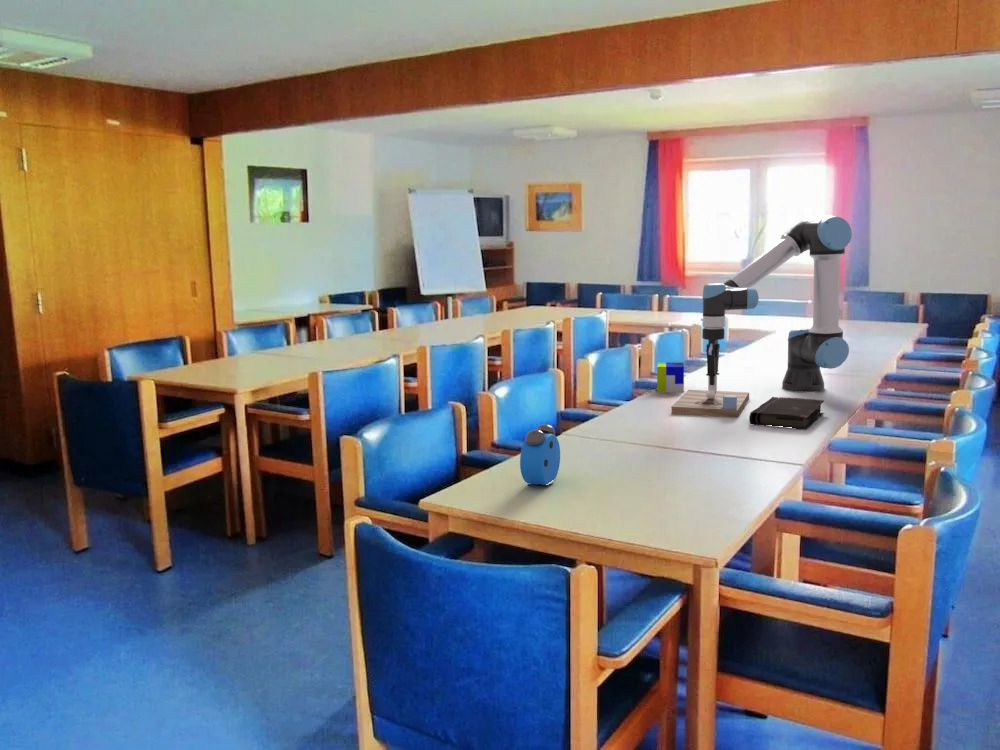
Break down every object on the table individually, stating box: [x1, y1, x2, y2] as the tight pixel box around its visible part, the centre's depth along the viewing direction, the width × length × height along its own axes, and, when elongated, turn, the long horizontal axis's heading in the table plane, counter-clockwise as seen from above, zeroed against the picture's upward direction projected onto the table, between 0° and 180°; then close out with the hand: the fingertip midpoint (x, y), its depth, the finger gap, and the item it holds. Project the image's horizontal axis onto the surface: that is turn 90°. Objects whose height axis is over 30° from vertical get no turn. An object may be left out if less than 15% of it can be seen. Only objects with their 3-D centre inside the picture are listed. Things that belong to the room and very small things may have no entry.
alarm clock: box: [519, 423, 561, 486], centre depth 208 cm, size 13×6×15 cm, turn 154°
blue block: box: [723, 395, 737, 409], centre depth 275 cm, size 4×4×4 cm
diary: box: [748, 396, 825, 430], centre depth 267 cm, size 19×25×5 cm
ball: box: [706, 390, 715, 399], centre depth 289 cm, size 3×3×3 cm
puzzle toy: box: [656, 362, 685, 393], centre depth 320 cm, size 10×10×10 cm
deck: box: [671, 389, 750, 418], centre depth 290 cm, size 30×22×2 cm
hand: (712, 393), depth 292 cm, fingers closed
